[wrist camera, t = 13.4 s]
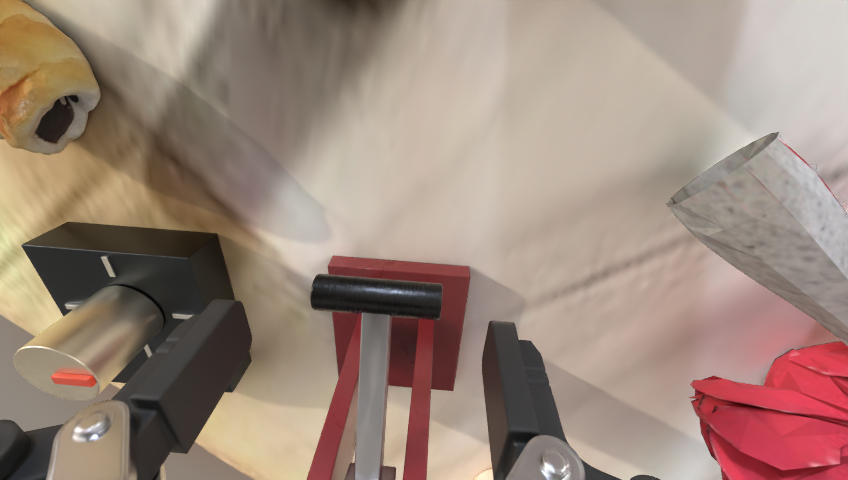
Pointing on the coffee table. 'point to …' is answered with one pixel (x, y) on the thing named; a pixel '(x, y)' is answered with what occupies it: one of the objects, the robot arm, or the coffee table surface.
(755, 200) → the bouquet
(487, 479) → the teacup with lid
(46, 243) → the dial panel
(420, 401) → the bracket
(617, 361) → the coffee table surface
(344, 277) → the lever
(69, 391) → the dial
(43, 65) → the pastry
